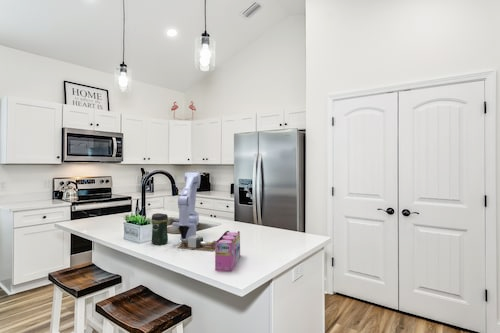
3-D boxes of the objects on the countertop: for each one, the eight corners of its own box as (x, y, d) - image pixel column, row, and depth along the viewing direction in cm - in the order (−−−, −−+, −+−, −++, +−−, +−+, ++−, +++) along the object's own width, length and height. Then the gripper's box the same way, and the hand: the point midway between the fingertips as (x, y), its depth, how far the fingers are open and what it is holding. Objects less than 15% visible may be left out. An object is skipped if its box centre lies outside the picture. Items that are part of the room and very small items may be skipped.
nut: (196, 247, 168) (196, 239, 168) (200, 245, 173) (200, 237, 173) (199, 248, 167) (199, 240, 167) (203, 245, 173) (203, 237, 172)
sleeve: (188, 247, 169) (188, 237, 169) (191, 244, 174) (192, 235, 174) (195, 247, 168) (195, 238, 168) (199, 245, 173) (199, 235, 173)
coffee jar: (170, 242, 180) (170, 213, 180) (160, 246, 173) (160, 215, 173) (158, 240, 185) (158, 211, 184) (149, 243, 178) (149, 213, 177)
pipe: (181, 244, 172) (181, 240, 172) (183, 243, 174) (183, 239, 174) (214, 247, 167) (214, 243, 167) (215, 246, 169) (215, 242, 169)
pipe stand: (178, 248, 169) (178, 241, 169) (185, 244, 177) (185, 237, 177) (213, 251, 163) (213, 243, 163) (218, 246, 172) (218, 239, 172)
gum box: (226, 254, 159) (227, 230, 158) (241, 255, 157) (241, 230, 157) (214, 270, 135) (214, 241, 135) (231, 271, 134) (231, 242, 133)
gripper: (169, 216, 170) (169, 239, 170) (192, 217, 167) (192, 241, 167) (175, 214, 177) (175, 236, 177) (197, 215, 174) (197, 238, 174)
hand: (183, 238), depth 173 cm, fingers closed
